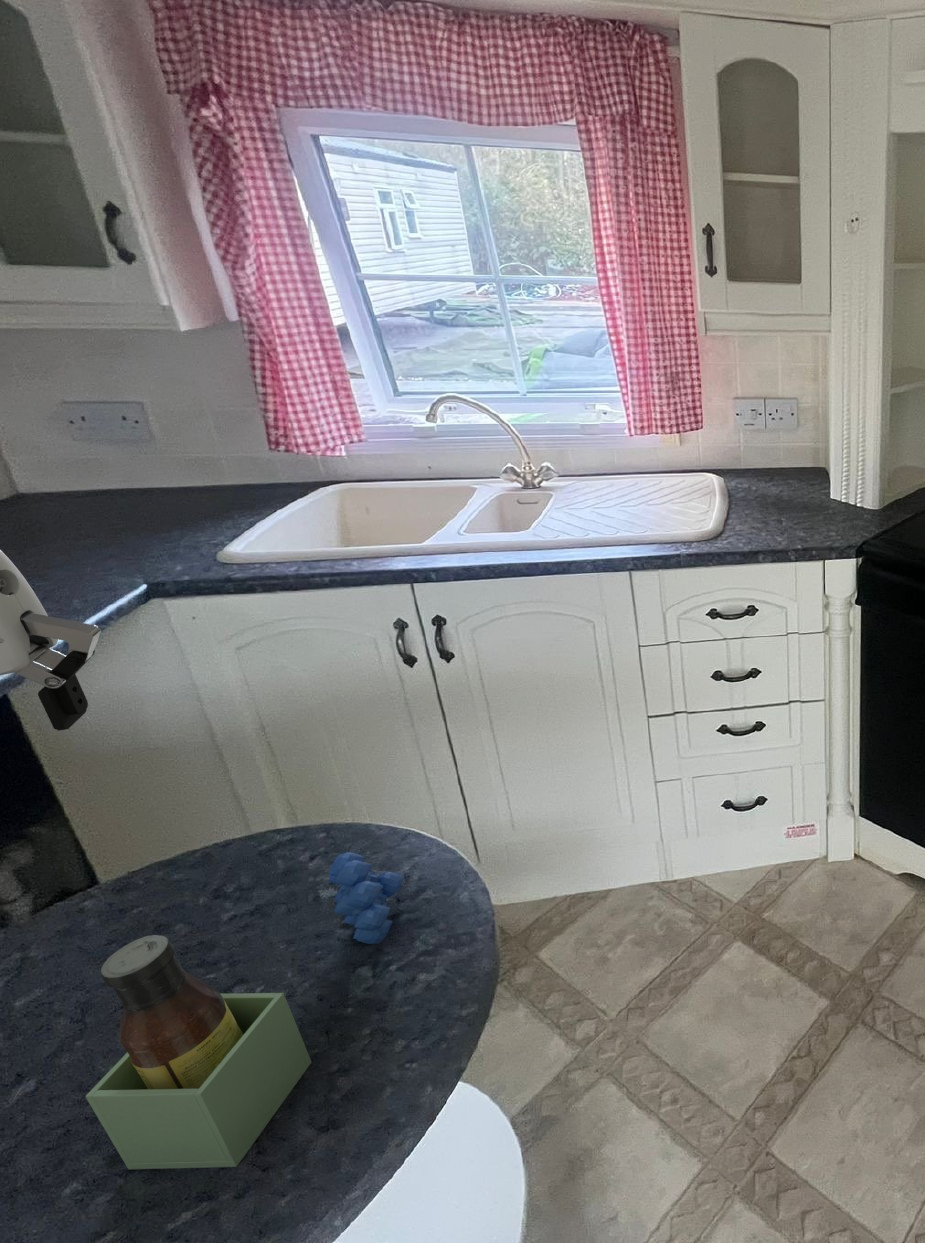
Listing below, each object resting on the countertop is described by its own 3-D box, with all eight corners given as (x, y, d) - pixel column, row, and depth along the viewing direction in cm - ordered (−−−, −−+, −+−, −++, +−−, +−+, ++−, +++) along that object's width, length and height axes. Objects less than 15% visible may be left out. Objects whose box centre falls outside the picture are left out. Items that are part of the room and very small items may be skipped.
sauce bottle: (276, 1060, 73) (210, 909, 65) (252, 1126, 68) (178, 969, 60) (189, 1087, 70) (110, 933, 63) (157, 1157, 65) (67, 998, 58)
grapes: (434, 941, 86) (411, 861, 82) (364, 981, 82) (336, 899, 77) (397, 888, 93) (374, 812, 89) (331, 922, 88) (303, 843, 84)
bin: (127, 1169, 65) (84, 1096, 61) (216, 1063, 73) (182, 993, 69) (236, 1167, 65) (200, 1094, 62) (312, 1062, 74) (283, 992, 70)
